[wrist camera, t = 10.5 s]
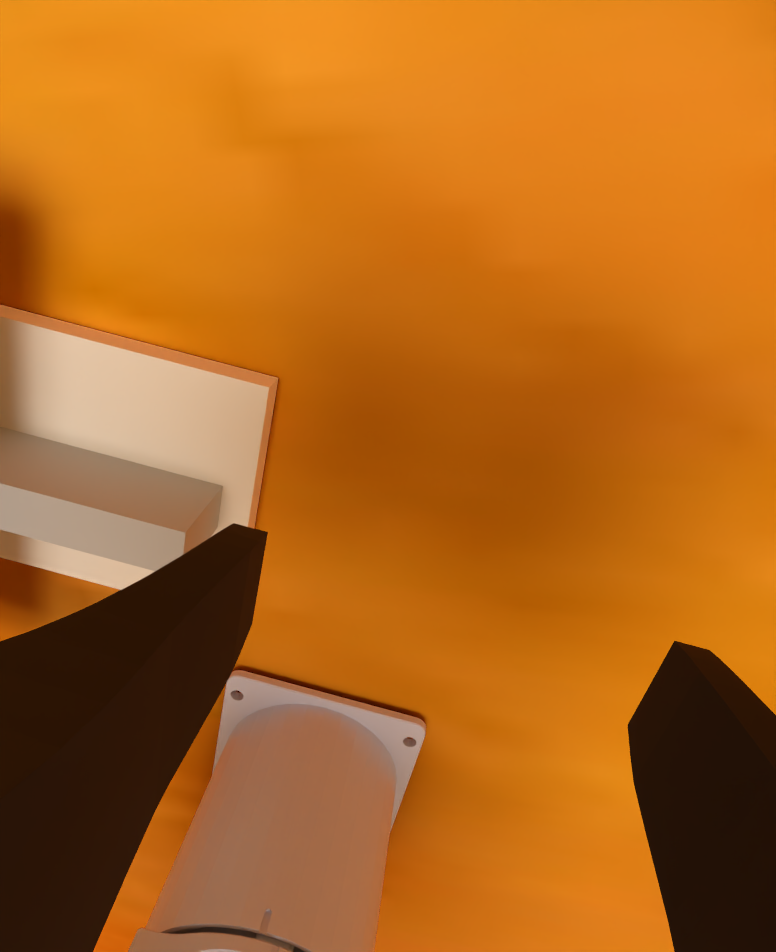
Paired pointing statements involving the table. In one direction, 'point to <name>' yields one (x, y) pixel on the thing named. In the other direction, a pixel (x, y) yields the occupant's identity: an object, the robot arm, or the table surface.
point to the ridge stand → (121, 449)
